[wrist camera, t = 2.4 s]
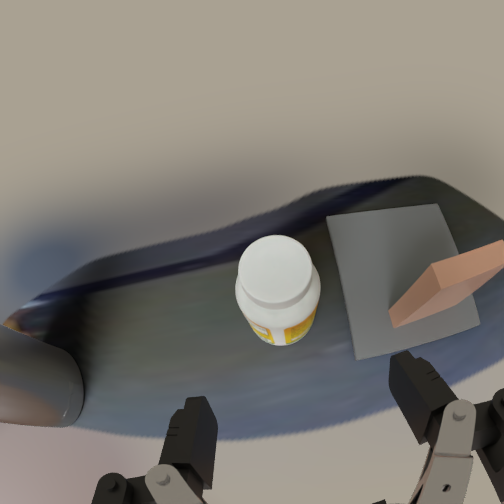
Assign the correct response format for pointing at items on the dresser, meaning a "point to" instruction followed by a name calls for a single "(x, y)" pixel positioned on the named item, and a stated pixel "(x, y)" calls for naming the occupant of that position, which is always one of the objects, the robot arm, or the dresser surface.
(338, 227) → the rubber mat
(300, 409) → the dresser surface
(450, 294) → the terracotta tile
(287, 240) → the supplement bottle
